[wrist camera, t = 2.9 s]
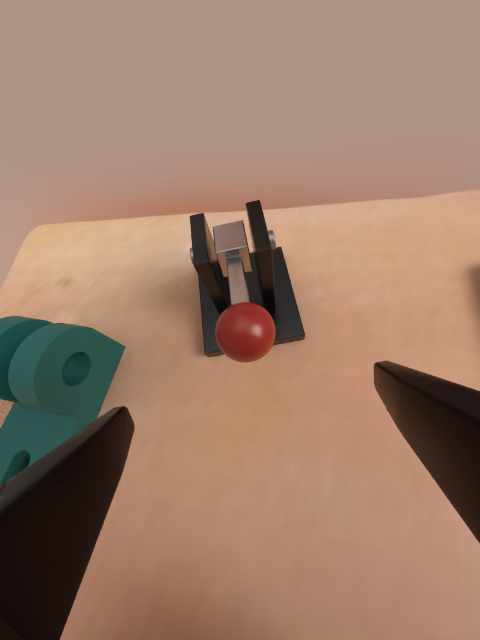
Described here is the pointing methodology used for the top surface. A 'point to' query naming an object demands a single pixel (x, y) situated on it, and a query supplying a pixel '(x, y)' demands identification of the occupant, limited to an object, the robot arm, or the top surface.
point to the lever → (240, 300)
